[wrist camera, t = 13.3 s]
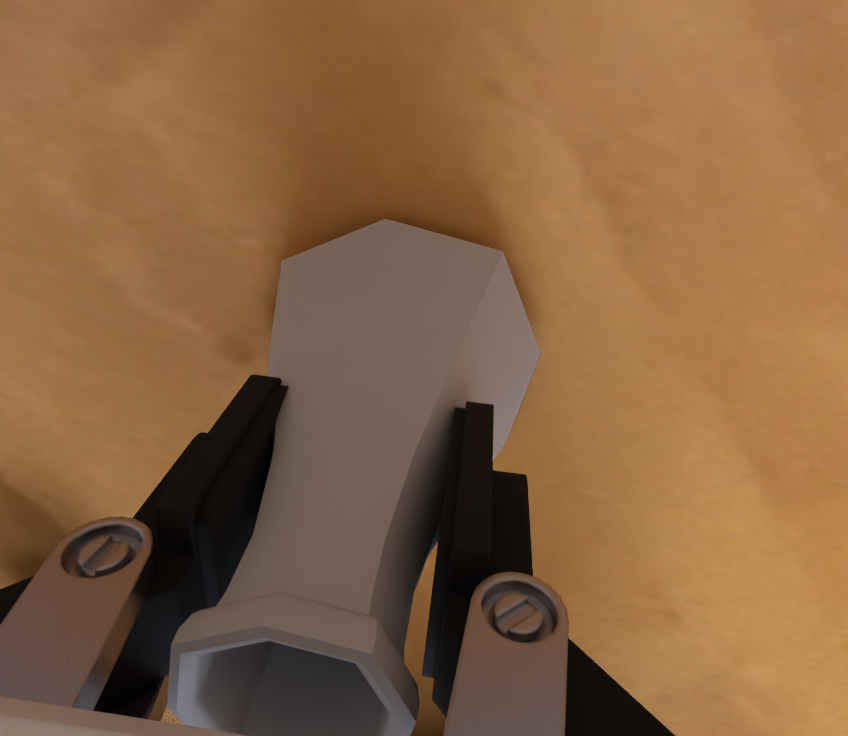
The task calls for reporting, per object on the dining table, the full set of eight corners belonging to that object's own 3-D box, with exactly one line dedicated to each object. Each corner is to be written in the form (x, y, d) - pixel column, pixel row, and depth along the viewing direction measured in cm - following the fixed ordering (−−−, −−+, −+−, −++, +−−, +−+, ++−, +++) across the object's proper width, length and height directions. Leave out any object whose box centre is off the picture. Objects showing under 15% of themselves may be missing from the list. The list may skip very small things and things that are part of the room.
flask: (294, 461, 18) (108, 844, 10) (242, 222, 15) (-115, 480, 6) (539, 461, 17) (577, 886, 9) (542, 207, 14) (611, 486, 5)
